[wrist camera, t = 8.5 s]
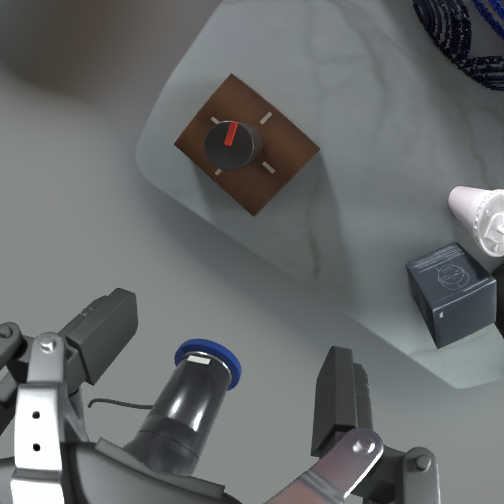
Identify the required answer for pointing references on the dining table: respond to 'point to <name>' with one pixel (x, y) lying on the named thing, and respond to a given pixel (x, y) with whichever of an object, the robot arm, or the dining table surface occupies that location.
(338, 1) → the dining table surface
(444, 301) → the box
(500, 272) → the pen holder
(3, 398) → the robot arm
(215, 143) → the dial
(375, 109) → the dining table surface
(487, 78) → the decorative bowl
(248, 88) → the dial panel
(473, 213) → the smoothie
